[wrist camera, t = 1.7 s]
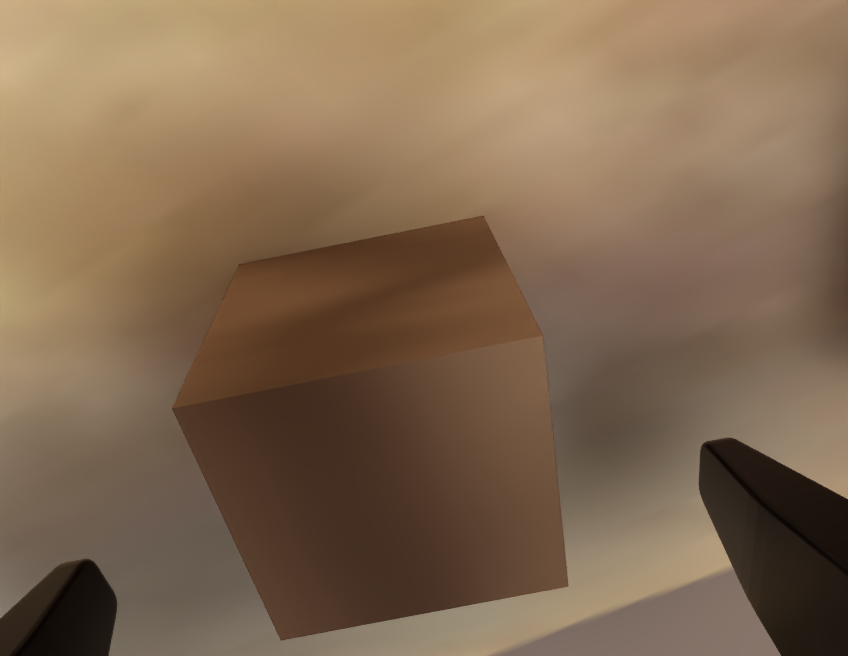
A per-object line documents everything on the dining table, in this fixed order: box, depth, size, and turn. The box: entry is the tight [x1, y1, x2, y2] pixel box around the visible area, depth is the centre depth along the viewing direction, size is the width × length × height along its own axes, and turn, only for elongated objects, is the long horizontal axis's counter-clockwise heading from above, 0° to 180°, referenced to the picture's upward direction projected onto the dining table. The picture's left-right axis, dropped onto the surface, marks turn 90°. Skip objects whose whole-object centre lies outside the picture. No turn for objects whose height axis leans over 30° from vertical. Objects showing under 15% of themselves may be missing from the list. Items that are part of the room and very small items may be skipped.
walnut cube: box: [172, 216, 568, 640], centre depth 12 cm, size 5×5×5 cm
